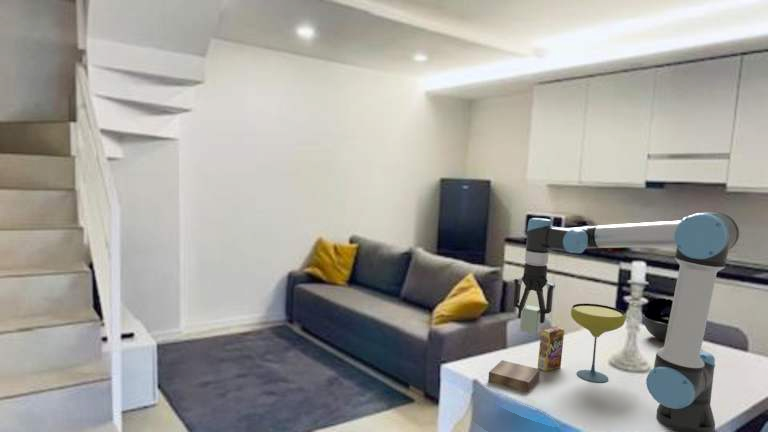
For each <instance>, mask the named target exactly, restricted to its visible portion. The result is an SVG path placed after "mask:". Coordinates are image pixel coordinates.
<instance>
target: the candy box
mask: <svg viewBox="0 0 768 432" xmlns="http://www.w3.org/2000/svg"><path fill="white" fill-rule="evenodd" d="M564 337H565V329H564V328H562V327H560V326H551V327H547V328H541V331H540V339H539V349H538V361H537V369H540V371H541V370H542V371H544V372H548V371H551V370H556V369H560V368H561V366H562V358H563V357H562V356H563V345H564Z"/></svg>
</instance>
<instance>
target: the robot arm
mask: <svg viewBox="0 0 768 432" xmlns="http://www.w3.org/2000/svg"><path fill="white" fill-rule="evenodd" d="M526 233H527V234H526V246H525V255H524V261H525V262H524V266H523V275H522V277H520V278H519V277H516V278H515V279H514V280H513V281H514V282H513V283H514V285H515V286H514V295H513V296H514V297H513V307H515V308H517V310H518V313H517V317H518V319H520V323H519V329H520V330H521V323H522V311H523V308H524V307H525V306H526V303H527V300H528V298H529V294H530V292H531V291H534V292H535V293H536V295H537V299H538V300H537V302H538V307H539V308H540V313H539V314H538V320H537V331H536V332H537V333H536V334H539V333H541V329H542V324H543V323H545V319H546V314H550V313H551V312H552V309H553V307H552V305H553V295H554V291H555V290H554V289H555V287H556V284H555V283H550V282H548V279H547V277H548V276H547V275H548V263H549V255H550V252H549V251H550V250H551V249H552V250H558V251H562V252H563V251H564V252H566V253H570V254H572V253H573V254H582V253H584V252H585V250H586V249H602V248H603V249H604V248H606V249H607V248H609V249H611V248H614V249H615V248H645V247H646V248H647V247H648V248H651V247H653V248H655V247H661V248H662V247H676V250H675V257H674V259H675V261H676V262H677V263H678V264H679V268H678V274H677V279H676V284H675V288H674V295H673V300H672V301H673V303H672V309H671V308H670V311H671V314H670V313H669V314H670V319H669V324H668V329H667V334H666V339H665V341H664V345H663V347H661V348H659V349H657V350H656V354H655V359H654V363H653V368H652V369H650V371H649V372H648V373H647V376H646V379H645V381H646V383H645V384H646V387H647V390H648V392H649V394H650V395H651V396H652V399H654V400H655V401H656V402H657V403H659V404H658V406H657V409H656V419H657V421H658V422H659V423H660V424H662V426H663V425H664V426H665V427H666V428H668V429H670V430H672V431H674V432H715V430H716V422H715V418H714V415H713V410H712V406H711V401H712V400H711V399H712V393H713V392H712V391H713V383H714V382H713V381H714V372H715V367H716V363H715V361H716V359H715V357H714V355H713V354H712V353H710V352H708V351H705V350H702V344H703V341H704V336H705V331H706V326H707V320H708V317H709V313H710V312H709V311H710V308H711V302H712V297H713V294H714V293H713V292H714V287H715V284H716V283H715V282H716V277H717V273H718V272H719V271H720V272H721V270H723V269H725V268H726V264H727V259H728V255H729V251H730V250H731V249H733V248H734V247H735V246H736V245H737V243H738V242H739V238H740V227H739V226H738V223H737V222H736V221H735V219H734V218H732V217H731V216H730V215H727V214H726V213H723V212H721V211H720V212H719V211H709V212H696V213H693V214H690V215H688V216H685V217H683V218H682V219H681V220H672V221H671V220H670V221H652V222H640V223H639V222H637V223H635V222H633V223H618V224H602V225H601V224H600V225H582V226H575V227H562V226H561V227H559V226H554V225H552V220H551V219H548V218H542V217H541V218H540V217H532V218H530V219H529V220H528V224H527V229H526ZM523 284H524V290H523V294H522V296H521V291H522V285H523ZM545 287H546V289H547V291H546V293H547V294H546V301H545V298H544V290H543V289H544V288H545ZM520 298H521V299H520ZM545 302H546V304H545Z"/></svg>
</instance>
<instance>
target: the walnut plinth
mask: <svg viewBox="0 0 768 432" xmlns="http://www.w3.org/2000/svg"><path fill="white" fill-rule="evenodd" d="M540 371H541V369H539V368H538V367H533V366H528V365H523V364H519V363H515V362H512V361H508V360H500V361H499V362H498V363H497V364H496V365H495V366H494V367H493V368H492V369H490V371H488V383H490V384H491V383H492V384H495V385H498V386H502V387H506V388H509V389H513V390H517V391H521V392H524V393H530V391H531V390H532V388H533V387H534V386H535V385H536V384H537V382H538V381H539V380H540V374H541V372H540Z"/></svg>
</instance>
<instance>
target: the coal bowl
mask: <svg viewBox="0 0 768 432" xmlns="http://www.w3.org/2000/svg"><path fill="white" fill-rule="evenodd" d="M672 304H673V300H672V299H670V298H669V299H666V298H661V297H660V298H654V299H652V300H651V301H649V302H648V304H647V309H646V311H645V312H644V314H643V315H642V322H643V324H644V326H645V328H646V330H647V332H648V333H649V334H651V336H653V337H654V338H656V339H657V340H660V341H663V342H665V339H666V334H667V329H668V324H669V319H670V314H671V309H672ZM667 307H669V308H670V310H669V313H662V311H664V309H666V308H667Z"/></svg>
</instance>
